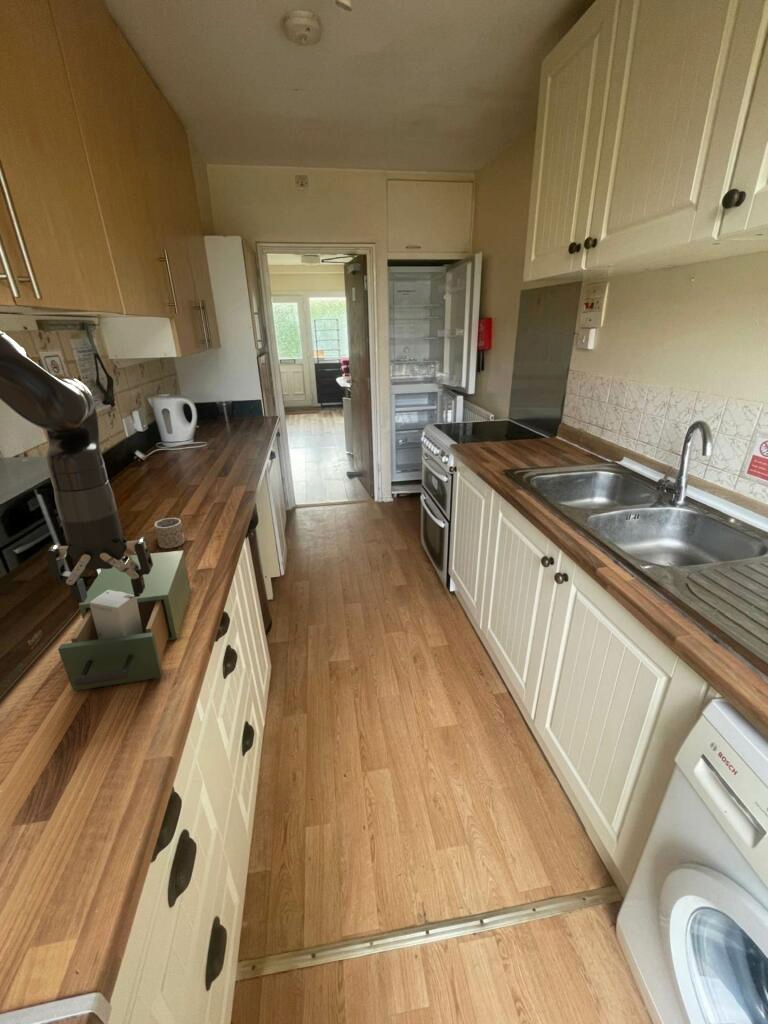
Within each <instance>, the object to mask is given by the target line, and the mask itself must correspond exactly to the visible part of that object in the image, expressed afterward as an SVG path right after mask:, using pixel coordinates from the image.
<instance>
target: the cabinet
mask: <svg viewBox="0 0 768 1024" xmlns="http://www.w3.org/2000/svg"><path fill="white" fill-rule="evenodd" d="M128 555H129V556H131V557H132V558H133V561H135V562H136V563H137V564H139V560H138V557H137V554H128ZM150 555H151V558H152V562H153V566H152V569H151V571H150V573H149V574H147V575H145V574H144V575H143V578H144V583H145V589H144V591H143V593H141V595H140V597H136V599H137V602H145V601H153V600H162V599H163V600H164V604H165V609H166V613H167V618H168V622H169V627H170V633H169V636H168V639H167V641H172V640H173V641H174V640H178V637H179V633H180V630H181V627H182V624H183V623H182V622H183V619H184V617H185V612H186V610H187V609H186V608H187V605H188V602H189V598H190V594H191V590H192V588H191V583H190V577H189V571H188V566H187V562H186V557H185V551H184V550H174V551H173V550H172V551H163V552H153V553H151V552H150ZM120 561H121V562H123V561H122V560H121V559H120ZM139 565H140V564H139ZM107 590H112V591H118V592H124V593H126V594H131V595H134V592H133V587H132V583H131V577H130V576H129V575H127V574H126V573H125V572H120V571H119V570H118V569H116V568H115V567H112V569H102V568H101V569H100V572H99V573H98V574H97V577H95V579H94V581H93V583H92V584H91V586H90V587H89V588H88V590H86V592H87V598H86V600H85V601H84V603H78V608H79V611H80V615H81V618H82V620H83V619H84V617H85V615H86V614H87V612H88V610H89V609H90V604H89V603H90V602H91V601H92V600H93V599H95V598H96V597H98V596H99V595H101V594H102V593H104V592H105V591H107Z"/></svg>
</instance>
